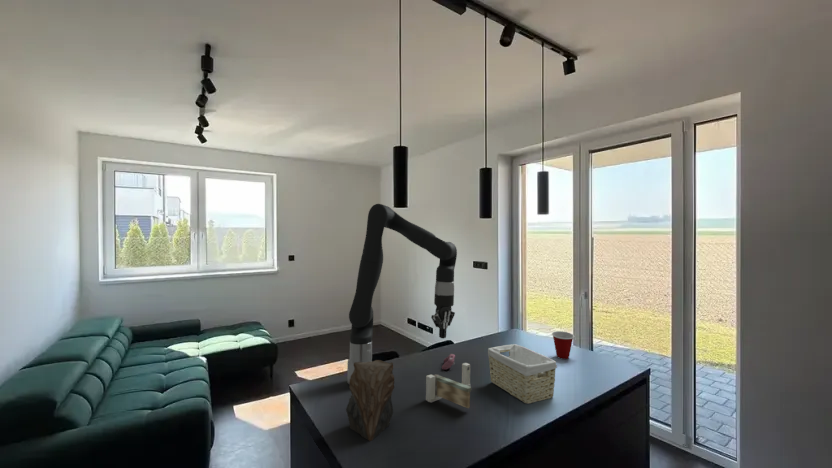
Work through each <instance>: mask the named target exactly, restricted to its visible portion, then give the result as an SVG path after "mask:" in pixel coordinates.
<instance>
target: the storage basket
mask: <svg viewBox="0 0 832 468" xmlns="http://www.w3.org/2000/svg"><path fill="white" fill-rule="evenodd" d="M507 352H508V354H509V355H508V356H506V355H503V353H507ZM501 353H502V354H501ZM487 356H488V362H489V363H488V365H489V373H490V374H489V376H490V382H491V383H492V384H494V385H496V386H497V387H499V388H501V389H502V390H504V391H505V392H506V393H508V394H510V395H511V396H512V397H514V398H516V399H518V400H519V401H522V402H523V403H524V404H533V403H536V402H540V401H545V400H549V399H551V398H553V397H554V393H555V382H556V369H557V368H558V366H557V361H556V360H554V359H552V358H550V357H549V356H546V355H544V354H542V353H539V352H538V351H537V352H536V351H534V350H532V349H530V348H527V347H525V346H522V345H520V344H516V343H512V344H504V345H499V346H494V347H488V348H487Z"/></svg>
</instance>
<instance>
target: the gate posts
mask: <svg viewBox="0 0 832 468" xmlns="http://www.w3.org/2000/svg"><path fill="white" fill-rule="evenodd" d="M433 375H434V374H428V375H426V376H425V378H426V379H425V382H426V383H425V401H427V402H428V403H434V402H436V401H438V400H441V399H443V398H442V397H439V396H436V395H435V376H433ZM460 383H461V384H464V385H467V386H470V387H472V385H471V364H470V363H468V362H463V363H461V382H460Z"/></svg>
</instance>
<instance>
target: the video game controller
mask: <svg viewBox="0 0 832 468" xmlns="http://www.w3.org/2000/svg"><path fill="white" fill-rule="evenodd" d="M455 359H456V355H455V354H454V353H450V354H449V355H448V356H447V357H445V358H444V359H443V364H442V366H441V369H442V370H444V371H445V370H448V369H451V367H452V366H454V365H456V363H455Z"/></svg>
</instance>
